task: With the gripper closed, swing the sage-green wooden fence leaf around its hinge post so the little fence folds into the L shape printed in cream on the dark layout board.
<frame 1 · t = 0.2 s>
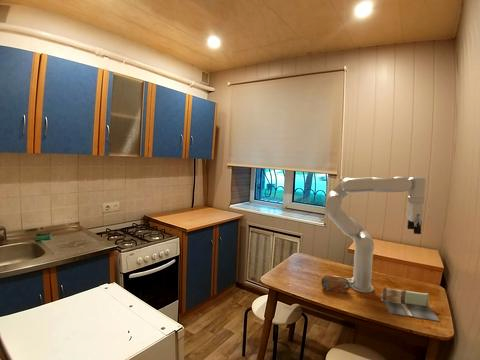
hand: (413, 231, 145), 36 cm above the table, tool pointing down, fingers open, 9 cm apart
fence leaf: (417, 298, 137), point 4 cm above the table, hinge at 0.0°
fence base: (402, 303, 139), on the table
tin: (335, 290, 152), on the table
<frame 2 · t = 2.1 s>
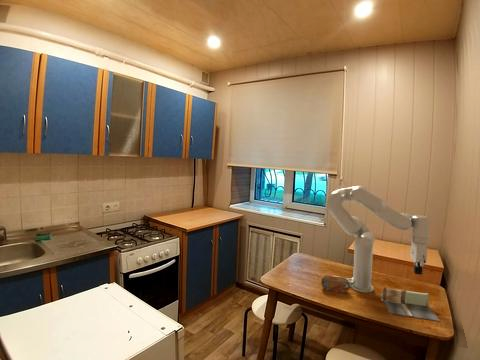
hand: (417, 273, 140), 15 cm above the table, tool pointing down, fingers closed
nothing on the table moved.
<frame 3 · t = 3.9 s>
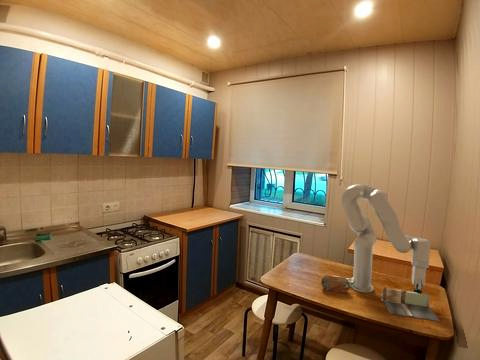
hand: (417, 296, 139), 4 cm above the table, tool pointing down, fingers closed
fence leaf: (417, 298, 136), point 4 cm above the table, hinge at -3.8°, touching gripper
everything else where it was.
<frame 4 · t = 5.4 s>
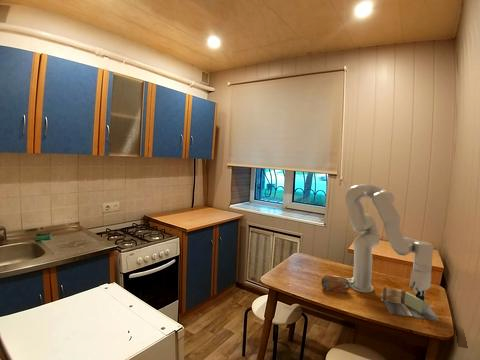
hand: (419, 302, 133), 4 cm above the table, tool pointing down, fingers closed
fence leaf: (414, 302, 133), point 4 cm above the table, hinge at -53.6°, touching gripper
everything else where it was.
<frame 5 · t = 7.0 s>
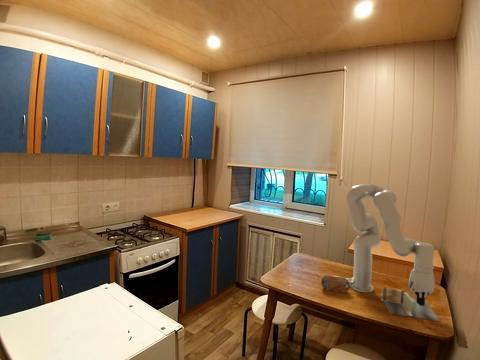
hand: (420, 304, 132), 4 cm above the table, tool pointing down, fingers closed
fence leaf: (409, 303, 132), point 4 cm above the table, hinge at -82.0°
everything else where it was.
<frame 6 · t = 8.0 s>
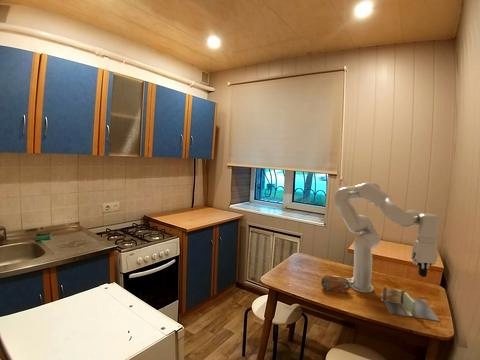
hand: (422, 275, 131), 18 cm above the table, tool pointing down, fingers closed
nothing on the table moved.
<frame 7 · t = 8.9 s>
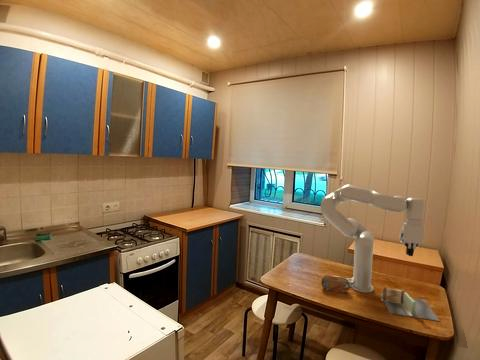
hand: (409, 255, 142), 24 cm above the table, tool pointing down, fingers closed
nothing on the table moved.
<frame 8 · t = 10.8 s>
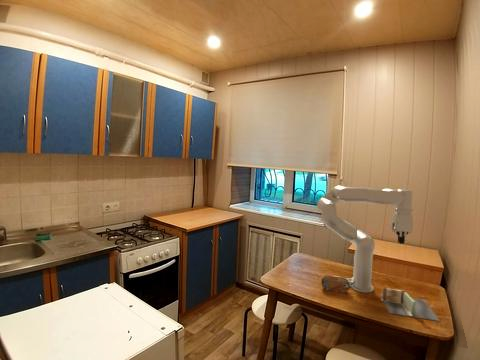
hand: (400, 243, 152), 27 cm above the table, tool pointing down, fingers closed
nothing on the table moved.
at the end: fence leaf at -82° (first picture: +0°); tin moved 0.3 cm from its start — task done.
